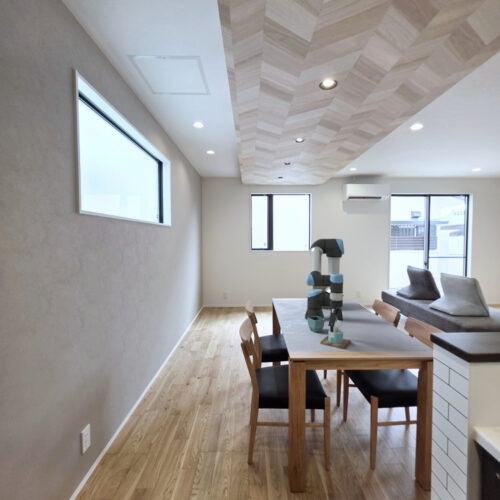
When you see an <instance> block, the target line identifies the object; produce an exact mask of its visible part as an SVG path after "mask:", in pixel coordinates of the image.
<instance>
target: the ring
mask: <svg viewBox="0 0 500 500" xmlns="http://www.w3.org/2000/svg"><path fill="white" fill-rule="evenodd" d="M327 334H328V335H327V336H328V341H330V342H332V343H336V344H337V343H342V342H343V339H344V331H343V330H342V329H341V330H338V333H335V338H333V337H330V329H329V330H328V332H327Z"/></svg>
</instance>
